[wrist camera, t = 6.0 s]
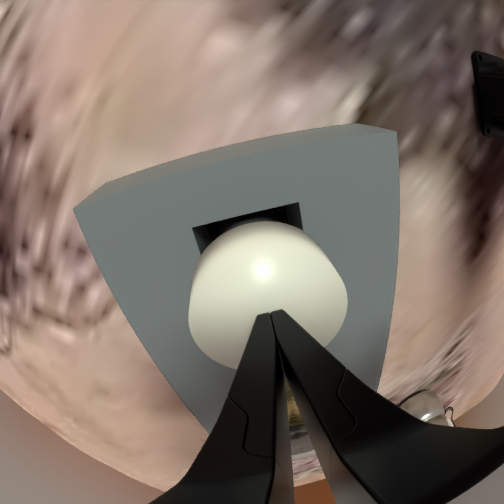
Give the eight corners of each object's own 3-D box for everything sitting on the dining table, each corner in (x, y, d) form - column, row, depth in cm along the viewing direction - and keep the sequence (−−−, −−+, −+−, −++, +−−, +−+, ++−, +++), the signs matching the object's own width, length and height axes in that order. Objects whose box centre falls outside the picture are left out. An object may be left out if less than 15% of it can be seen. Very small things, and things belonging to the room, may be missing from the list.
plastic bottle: (434, 393, 31) (486, 498, 13) (394, 417, 32) (438, 526, 15) (430, 377, 28) (492, 500, 10) (385, 406, 29) (436, 533, 12)
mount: (356, 123, 14) (396, 131, 10) (356, 394, 26) (367, 424, 23) (104, 183, 14) (72, 209, 10) (227, 425, 26) (230, 457, 23)
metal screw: (305, 355, 16) (328, 427, 11) (308, 382, 17) (328, 446, 13) (255, 367, 16) (266, 442, 11) (264, 392, 17) (275, 459, 13)
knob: (295, 179, 13) (345, 230, 8) (309, 273, 15) (347, 350, 10) (184, 206, 13) (163, 274, 8) (214, 295, 15) (216, 382, 10)
